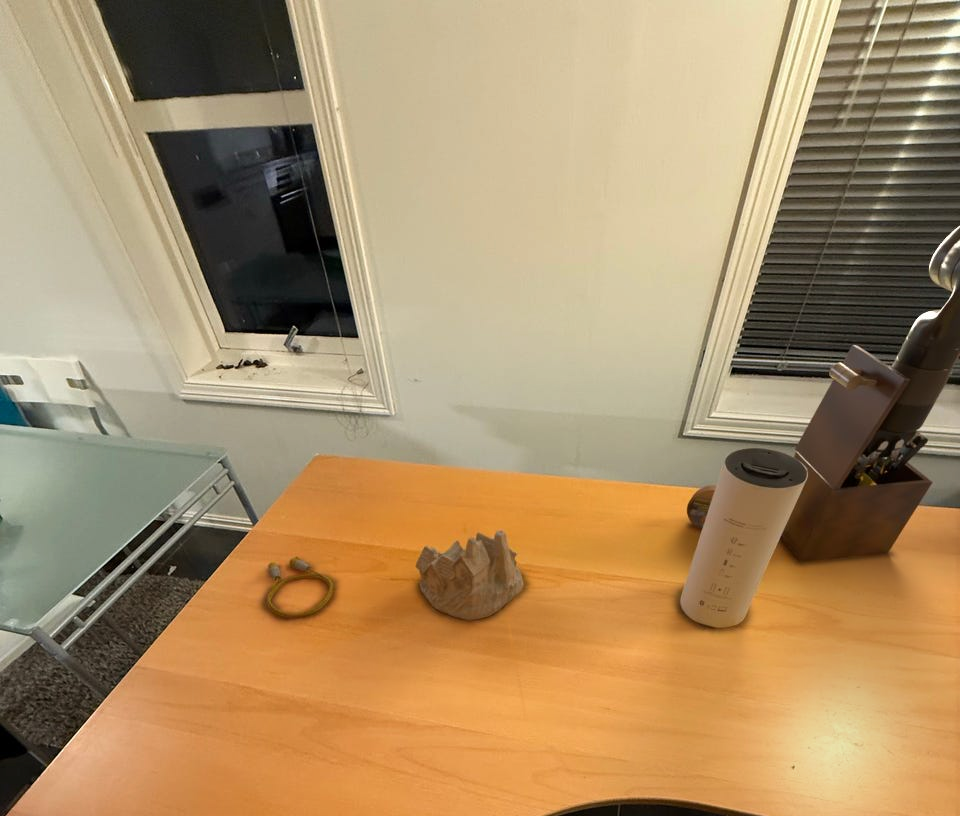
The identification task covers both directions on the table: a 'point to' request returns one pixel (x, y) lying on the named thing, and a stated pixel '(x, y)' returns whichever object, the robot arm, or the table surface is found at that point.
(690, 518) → the tin
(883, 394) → the lid
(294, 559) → the extension cord
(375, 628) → the table surface
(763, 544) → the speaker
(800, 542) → the chest
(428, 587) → the ceramic cottage
